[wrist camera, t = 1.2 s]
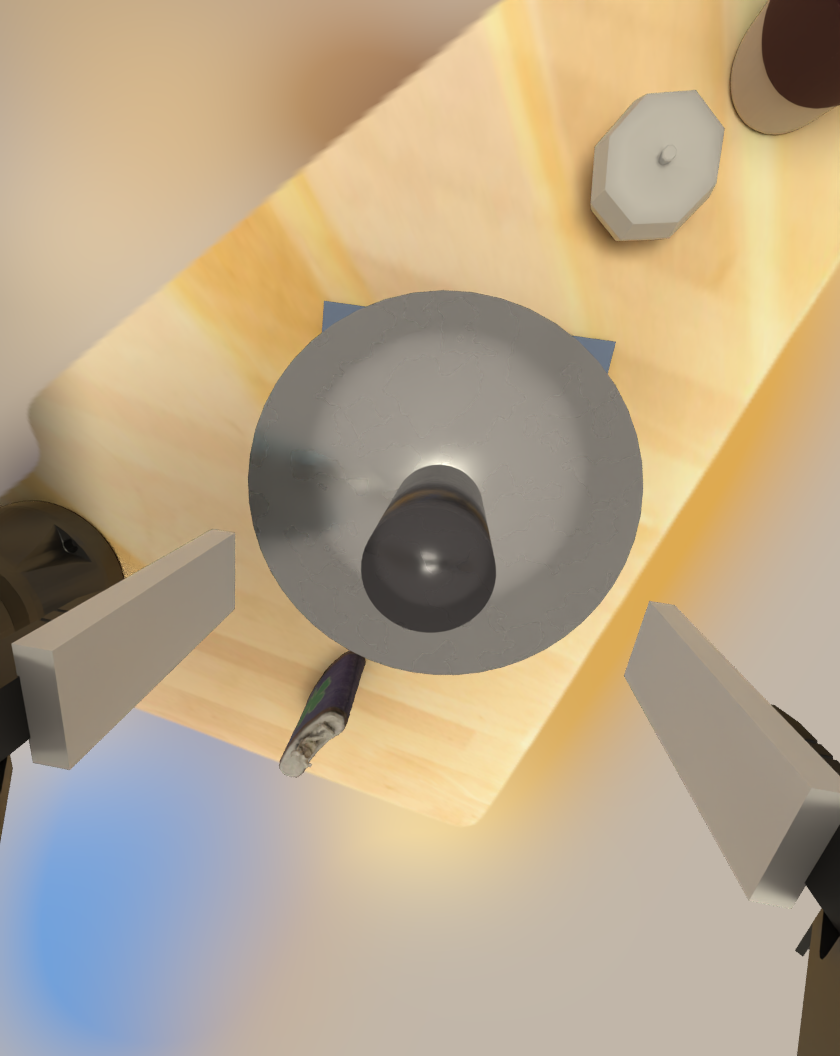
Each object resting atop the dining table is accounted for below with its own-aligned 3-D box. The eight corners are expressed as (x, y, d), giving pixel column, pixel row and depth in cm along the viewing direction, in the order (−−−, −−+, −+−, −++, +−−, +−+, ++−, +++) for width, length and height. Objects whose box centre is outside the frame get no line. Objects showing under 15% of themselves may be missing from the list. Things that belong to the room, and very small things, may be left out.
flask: (323, 714, 48) (287, 801, 38) (301, 699, 48) (258, 783, 38) (372, 658, 46) (347, 737, 35) (349, 642, 45) (317, 716, 35)
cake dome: (312, 562, 42) (155, 752, 20) (329, 308, 35) (117, 181, 13) (543, 599, 41) (639, 840, 19) (607, 347, 34) (868, 281, 12)
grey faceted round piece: (698, 229, 32) (756, 191, 26) (591, 280, 34) (621, 256, 27) (669, 106, 30) (725, 32, 24) (557, 166, 32) (581, 112, 25)
